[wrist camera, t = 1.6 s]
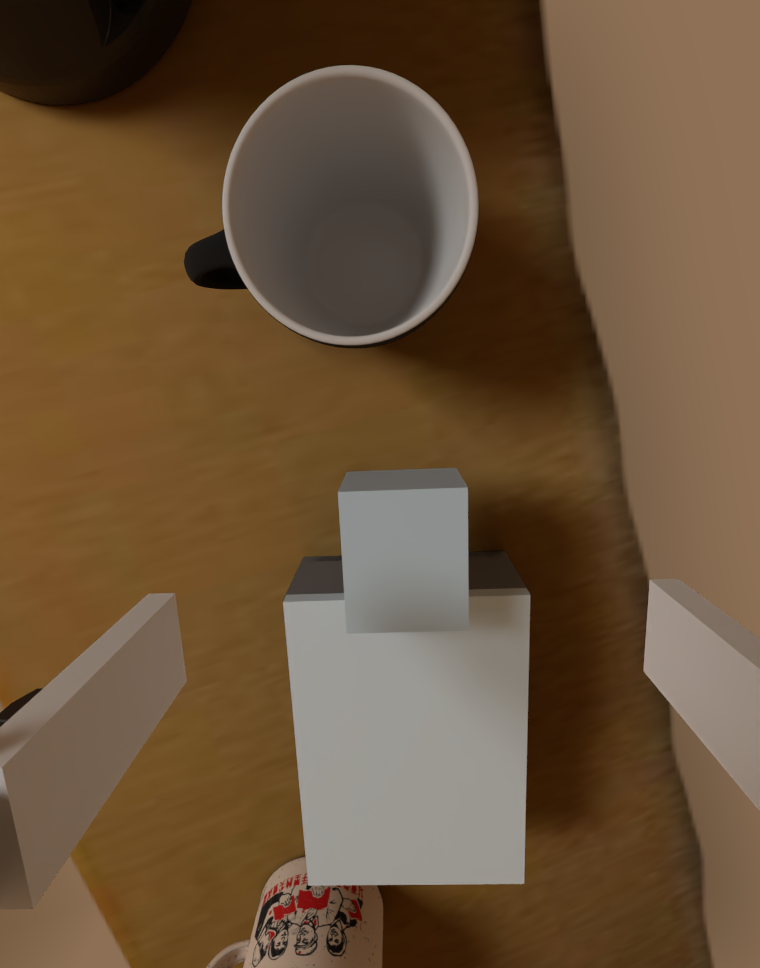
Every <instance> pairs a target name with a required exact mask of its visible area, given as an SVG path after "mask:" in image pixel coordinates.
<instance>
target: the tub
mask: <svg viewBox="0 0 760 968" xmlns="http://www.w3.org/2000/svg"><path fill="white" fill-rule="evenodd" d="M468 585H469V590H473V589H508V588H527V587H526V586H525V584H524V582H523V581H522V579H521V577H520V576H519V574H518V572H517V571H516V569H515V567H514V566H513V564H512V562H511V561H510V559H509V557H508V556H507V554H506V552H505V551H485V552H468ZM527 590H528V589H527ZM528 592H529V591H528ZM331 593H344V583H343V567H342V556H322V557H303V559H302V561H301V564H300V566H299V568H298V570H297V572H296V574H295V576H294V578H293V580H292V582H291V585H290V587H289V589H288V591H287V593H286V595H295V594H331ZM529 593H530V592H529ZM286 595H285V597H286ZM285 597H284V599H285ZM284 599H283V601H284ZM284 619H285V618H284ZM285 630H286V629H285ZM286 641H287V640H286ZM289 675H290V674H289ZM290 686H291V685H290ZM293 720H294V719H293ZM294 731H295V730H294ZM297 765H298V764H297ZM298 776H299V775H298ZM301 810H302V809H301ZM302 821H303V820H302ZM305 855H306V854H305ZM306 866H307V865H306Z"/></svg>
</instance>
